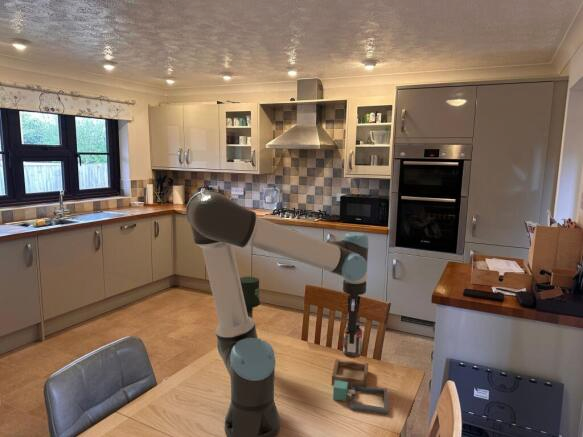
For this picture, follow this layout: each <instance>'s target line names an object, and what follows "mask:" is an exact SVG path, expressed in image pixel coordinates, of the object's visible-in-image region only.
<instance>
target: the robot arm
mask: <svg viewBox="0 0 583 437" xmlns="http://www.w3.org/2000/svg"><path fill="white" fill-rule="evenodd" d="M185 215H186V219H187V221H188V222H189V224H190V227H191V231H192V232H191V233H192V237H193V241H194V244H195V245H196V246H197V247H199V248H201V250H202V255H203V259H204V264H205V267H206V273H207V276H208V281H209V286H210V290H211V293H212V298H213V303H214V307H215V310H216V315H217V319H218V320H217V321H218V325H217V326H216V327H215V336H216V338H217V342H216V344H217V345H216V346H217V351H218V354H219V356H220V358H221V359H222V361H223V364H224V365H225V368H226V370H227V373H228V374H229V377H230V404H229V407H228V409H227V413H226V415H225V419H224V433H225V435H226V437H277V436H278V434H279V432H280V429H281V416H280V414H279V410H278V409H277V405H276V402H275V373H276V372H275V368H276V367H275V366H276V356H275V351H274V350H275V349H274V348H273V346H272V345H271V344H270V343H269V342H268V341H266V340H262V339H261V338H258V337H259V336H258V333H257V328H256V324H255V320H254V319H253V317H252V318H250V317H248V314H247V309H246V305H245V300H244V295H243V291H242V286H241V281H240V278H241V277H240V272H239V269H238V262H237V259H236V254H235V248H234V246H236V247H239V248H243V249H244V248H246V247H248V246H249V247H252V248H256V249H258V250H260V251H261V250H262V251H265V252H267V253H271V254H273V255H277V256H279V257H282V258H287V259H289V260H292V261H296V262H298V263H301V264H305V265H308V266H310V267H313V268H318V269H319V270H323V271H326V272H329V273H332V274H334V275H338V276H340V277H343V281H342V291H343V293H345V294H348V295H347V312H348V321H347V325H348V326H347V327H348V331H346V333H347V334H348V344H347V352H354V353H356V322H357V321H358V322H359V323H360V320H358V319H359V312H360V310H359V309H360V303H361V296H362V295H364V294H366V292H367V280H368V261H369V260H368V257H369V255H368V254H369V236H368V235H367V234H366V233H363V232H357V231H356V232H355V231H354V232H351V231H350V232H347V233H345V235H344V238H343V240H333V241H332V240H331V241H324V240H321V239H318V238H316V237H312V236H310V235H307V234H305V233H302V232H299V231H298V230H293V229H290V228H288V227H286V226H283V225H280V224H277V223H274V222H272V221H269V220H266V219H263V218H261V217H258V214H257V213H256V211H253V210H250V209H248V208H246V207H243V206H242V205H240V204H238V203H237V202H235V201H233V200H232V199H230V198H229V197H227V196H225V195H223V194H222V193H220V192H219V191H216V190H211V189H209V190H201V191H199V192H197V193H195V194H193V196H191V198H190V199H189V201H188V202H187V205H186V209H185ZM360 324H361V323H360Z"/></svg>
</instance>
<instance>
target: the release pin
mask: <svg viewBox="0 0 583 437" xmlns="http://www.w3.org/2000/svg"><path fill="white" fill-rule="evenodd" d="M351 394H354V395H356V391H355V390H352V389H348V382H344V381H337V380H335V383H334V385H333V393H332V395H333V396H332V400H336V401H344V402H347V397H348V395H351Z"/></svg>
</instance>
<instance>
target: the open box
mask: <svg viewBox="0 0 583 437" xmlns="http://www.w3.org/2000/svg"><path fill="white" fill-rule="evenodd" d="M368 377H369V363H368V362H361V361H354V360H344V359H336V358H335V360H334V365H333V370H332V374H331V385H333V386H334V383H335V380H337V381H344V382H348V387H349V388H352V384H353V385H360V386H368V380H369V379H368Z"/></svg>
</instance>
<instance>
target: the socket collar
mask: <svg viewBox="0 0 583 437" xmlns="http://www.w3.org/2000/svg"><path fill="white" fill-rule="evenodd" d="M351 390H355V392H361V393H368V394H375V395H376V394H377V395H382V396H383V406H377V405H376V406H375V405H370V404H364V403H355V395H356V394H355V395H354V394H350V400H349V410H353V411H360V412H361V411H362V412H367V413H372V414H373V413H374V414H379V415H380V414H381V415H387V416H388V414H389V402H388V388H383V387H382V388H381V387H374V386H368V385H367V386H360V385H353V384H352V387H351Z"/></svg>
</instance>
